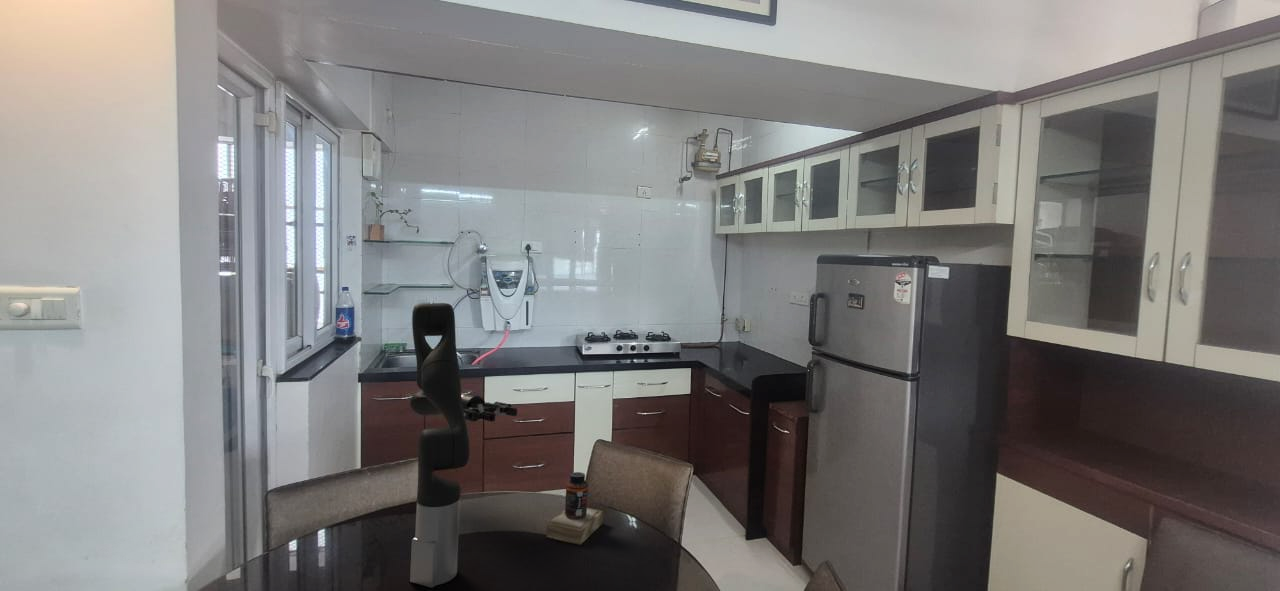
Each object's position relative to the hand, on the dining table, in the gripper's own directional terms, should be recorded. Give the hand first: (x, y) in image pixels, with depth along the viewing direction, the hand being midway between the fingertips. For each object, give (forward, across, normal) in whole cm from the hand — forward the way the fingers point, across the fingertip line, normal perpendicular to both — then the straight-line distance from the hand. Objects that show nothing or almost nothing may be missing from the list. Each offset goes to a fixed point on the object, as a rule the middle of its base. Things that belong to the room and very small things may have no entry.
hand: (505, 415), depth 149 cm
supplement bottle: (+20, +8, +26) cm, 34 cm away
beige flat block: (+20, +8, +30) cm, 37 cm away
